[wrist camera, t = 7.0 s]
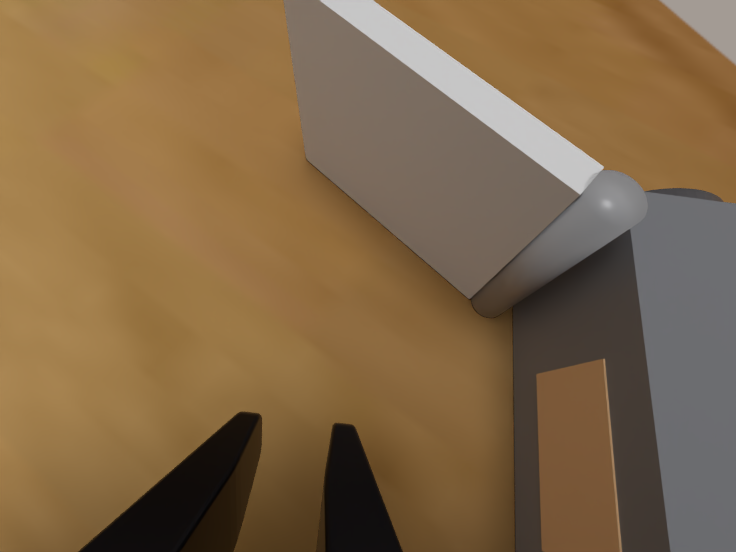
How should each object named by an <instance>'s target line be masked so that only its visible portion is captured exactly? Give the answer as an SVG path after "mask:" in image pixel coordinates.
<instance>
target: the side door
mask: <svg viewBox="0 0 736 552" xmlns="http://www.w3.org/2000/svg"><path fill="white" fill-rule="evenodd" d="M284 7H285V14H286V21H287V28H288V35H289V42H290V49H291V56H292V63H293V70H294V77H295V84H296V91H297V99H298V106H299V113H300V120H301V127H302V134H303V141H304V148H305V155H306V159H307V160H308V161H309V162H310V163H311V164H312V165H313V166H315V167H316V168H317V169H318V170H319V171H320V172H322V173H323V174H324V175H325V176H326V177H327V178H329V179H330V180H331V181H332V182H333V183H334V184H336V185H337V186H338V187H339V188H340V189H341V190H343V191H344V192H345V193H346V194H347V195H348V196H350V197H351V198H352V199H353V200H354V201H355V202H357V203H358V204H359V205H360V206H361V207H362V208H363V209H365V210H366V211H367V212H368V213H369V214H370V215H372V216H373V217H374V218H375V219H376V220H377V221H379V222H380V223H381V224H382V225H383V226H384V227H386V228H387V229H388V230H389V231H390V232H391V233H393V234H394V235H395V236H396V237H397V238H398V239H400V240H401V241H402V242H403V243H404V244H405V245H407V246H408V247H409V248H410V249H411V250H412V251H413V252H415V253H416V254H417V255H418V256H419V257H420V258H422V259H423V260H424V261H425V262H426V263H427V264H429V265H430V266H431V267H432V268H433V269H434V270H436V271H437V272H438V273H439V274H440V275H441V276H443V277H444V278H445V279H446V280H447V281H448V282H450V283H451V284H452V285H453V286H454V287H455V288H457V289H458V290H459V291H460V292H461V293H462V294H463V295H465V296H466V297H467V298H468V299H470V298H471V302H472V305H473V308H474V309H475V310H476V312H477V313H479V314H480V315H482V316H484V317H487V318H493V317H497V316H499V315H500V314H502V313H503V312H505V311H506V310H508V309H509V308H511V307H512V306H514V305H515V304H517V303H518V302H520V301H521V300H523V299H524V298H526V297H527V296H529V295H530V294H532V293H533V292H535V291H536V290H538V289H540V288H541V287H543V286H544V285H546V284H547V283H549V282H550V281H552V280H553V279H555V278H556V277H558V276H559V275H561V274H562V273H564V272H565V271H567V270H568V269H570V268H571V267H573V266H574V265H576V264H577V263H579V262H580V261H582V260H583V259H585V258H586V257H588V256H589V255H591V254H592V253H594V252H595V251H597V250H598V249H600V248H601V247H603V246H604V245H606V244H607V243H609V242H610V241H612V240H614V239H615V238H617V237H618V236H620V235H621V234H623V233H624V232H626V231H627V230H629V229H630V228H632V227H633V226H635V225H636V224H638V223H639V222H640V221H642V219H643V218H644V217H645V215H646V213H647V209H648V202H647V197H646V195H645V193H644V191H643V189H642V188H641V186H640V185H639V184H638V183H637V182H636V181H635V180H634V179H632V178H631V177H629V176H628V175H626V174H624V173H621V172H618V171H613V170H603V171H601V170H602V169H603V168H604V167H603V166H602V165H601V164H599V163H598V162H597V161H595V160H594V159H592V158H591V157H590V156H588V155H587V154H585V153H584V152H583V151H581V150H580V149H578V148H577V147H576V146H574V145H573V144H572V143H570V142H569V141H567V140H566V139H565V138H563V137H562V136H560V135H559V134H558V133H556V132H555V131H553V130H552V129H551V128H549V127H548V126H547V125H545V124H544V123H542V122H541V121H540V120H538V119H537V118H535V117H534V116H533V115H531V114H530V113H528V112H527V111H526V110H524V109H523V108H522V107H520V106H519V105H517V104H516V103H515V102H513V101H512V100H510V99H509V98H508V97H506V96H505V95H503V94H502V93H501V92H499V91H498V90H497V89H495V88H494V87H492V86H491V85H490V84H488V83H487V82H485V81H484V80H483V79H481V78H480V77H478V76H477V75H476V74H474V73H473V72H472V71H470V70H469V69H467V68H466V67H465V66H463V65H462V64H460V63H459V62H458V61H456V60H455V59H453V58H452V57H451V56H449V55H448V54H447V53H445V52H444V51H442V50H441V49H440V48H438V47H437V46H435V45H434V44H433V43H431V42H430V41H428V40H427V39H426V38H424V37H423V36H422V35H420V34H419V33H417V32H416V31H415V30H413V29H412V28H410V27H409V26H408V25H406V24H405V23H403V22H402V21H401V20H399V19H398V18H396V17H395V16H394V15H392V14H391V13H390V12H388V11H387V10H385V9H384V8H383V7H381V6H380V5H378V4H377V3H376V2H374V1H373V0H284Z"/></svg>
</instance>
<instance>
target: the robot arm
mask: <svg viewBox="0 0 736 552" xmlns="http://www.w3.org/2000/svg"><path fill="white" fill-rule="evenodd" d="M261 446H262V417H261V415H260V414H258V413H251V412H239V413H237V414H236V415H235V416H234V417H233V418H232V419H230V420H229V421H228V422H227V423H226V424H225V425H224V426H222V427H221V428H220V429H219V430H218V431H217V432H215V433H214V434H213V435H212V436H211V437H210V438H209V439H207V440H206V441H205V442H204V443H203V444H202V445H200V446H199V447H198V448H197V449H196V450H195V451H194V452H192V453H191V454H190V455H189V456H188V457H187V458H186V459H184V460H183V461H182V462H181V463H180V464H179V465H177V466H176V467H175V468H174V469H173V470H172V471H171V472H169V473H168V474H167V475H166V476H165V477H164V478H162V479H161V480H160V481H159V482H158V483H157V484H156V485H154V486H153V487H152V488H151V489H150V490H149V491H147V492H146V493H145V494H144V495H143V496H142V497H141V498H139V499H138V500H137V501H136V502H135V503H134V504H133V505H131V506H130V507H129V508H128V509H127V510H126V511H124V512H123V513H122V514H121V515H120V516H119V517H118V518H116V519H115V520H114V521H113V522H112V523H111V524H109V525H108V526H107V527H106V528H105V529H104V530H103V531H101V532H100V533H99V534H98V535H97V536H96V537H94V538H93V539H92V540H91V541H90V542H89V543H88V544H86V545H85V546H84V547H83V548H82V549H81V550H80V551H78V552H233V551H234V548H235V545H236V542H237V539H238V536H239V532H240V529H241V526H242V522H243V518H244V514H245V511H246V507H247V503H248V499H249V495H250V492H251V488H252V484H253V480H254V477H255V473H256V469H257V465H258V461H259V458H260V453H261ZM316 552H403V551H402V549H401V546H400V543H399V541H398V538H397V536H396V533H395V530H394V528H393V525H392V522H391V520H390V517H389V515H388V512H387V509H386V507H385V504H384V501H383V499H382V496H381V494H380V491H379V488H378V486H377V483H376V480H375V478H374V475H373V473H372V470H371V467H370V465H369V462H368V459H367V457H366V454H365V452H364V449H363V446H362V444H361V441H360V438H359V436H358V433H357V431H356V428H355V427H354V426H353V425H351V424H343V423H334V424H333V427H332V432H331V438H330V445H329V451H328V457H327V463H326V469H325V477H324V486H323V495H322V504H321V513H320V522H319V531H318V540H317V549H316Z"/></svg>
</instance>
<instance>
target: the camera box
mask: <svg viewBox="0 0 736 552" xmlns="http://www.w3.org/2000/svg"><path fill="white" fill-rule="evenodd" d="M644 193H645V195H646V197H647V202H648V209H647V213H646V215H645V217H644V218H643V219H642V221H640V222H639V223H638V224H636V225H635V226H633V227H632V228H630V229H629V230H627V231H626V232H624V233H623V234H621V235H620V236H618V237H617V238H615V239H614V240H612V241H610V242H609V243H607V244H606V245H604V246H603V247H601V248H600V249H598V250H597V251H595V252H594V253H592V254H591V255H589V256H588V257H586V258H585V259H583V260H582V261H580V262H579V263H577V264H576V265H574V266H573V267H571V268H570V269H568V270H567V271H565V272H564V273H562V274H561V275H559V276H558V277H556V278H555V279H553V280H552V281H550V282H549V283H547V284H546V285H544V286H543V287H541V288H540V289H538V290H536V291H535V292H533V293H532V294H530V295H529V296H527V297H526V298H524V299H523V300H521V301H520V302H518V303H517V304H515V305H514V306H513V370H514V461H515V552H736V204H734V203H727V202H723V201H722V199H721V198H719V197H718V196H716V195H714V194H712V193H709V192H706V191H702V190H696V189H684V188H672V189H658V190H651V191H644Z"/></svg>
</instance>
